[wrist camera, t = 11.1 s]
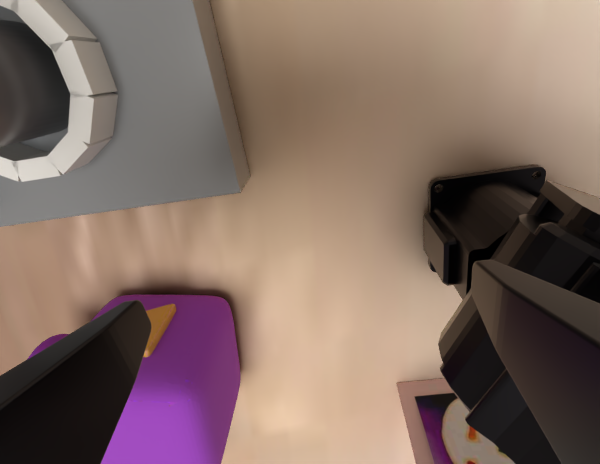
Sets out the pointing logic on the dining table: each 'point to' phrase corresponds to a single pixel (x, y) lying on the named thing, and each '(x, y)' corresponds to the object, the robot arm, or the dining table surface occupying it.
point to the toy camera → (178, 383)
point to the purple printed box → (443, 426)
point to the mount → (126, 111)
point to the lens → (29, 86)
